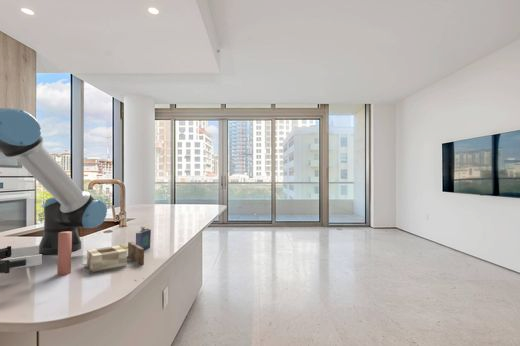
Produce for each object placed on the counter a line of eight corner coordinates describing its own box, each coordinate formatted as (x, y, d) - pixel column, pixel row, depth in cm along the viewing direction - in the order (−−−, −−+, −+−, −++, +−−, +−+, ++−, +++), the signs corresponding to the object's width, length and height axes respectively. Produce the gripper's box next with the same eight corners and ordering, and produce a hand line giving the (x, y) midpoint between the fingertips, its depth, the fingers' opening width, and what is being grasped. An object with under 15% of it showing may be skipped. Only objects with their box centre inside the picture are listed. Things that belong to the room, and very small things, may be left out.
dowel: (56, 276, 85) (57, 232, 85) (69, 273, 87) (71, 230, 88) (57, 279, 82) (59, 234, 83) (71, 276, 85) (72, 232, 85)
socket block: (86, 264, 93) (87, 250, 94) (118, 258, 100) (118, 245, 100) (92, 271, 86) (93, 256, 86) (126, 265, 93) (126, 250, 93)
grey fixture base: (82, 267, 94) (82, 248, 94) (131, 258, 105) (131, 241, 105) (90, 278, 84) (91, 257, 84) (143, 267, 95) (144, 248, 95)
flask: (139, 254, 110) (140, 228, 110) (132, 254, 110) (133, 228, 111) (151, 249, 119) (152, 225, 119) (145, 248, 120) (146, 224, 120)
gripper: (-60, 271, 76) (37, 257, 90) (-85, 302, 57) (42, 278, 71) (-59, 245, 76) (38, 235, 90) (-84, 266, 57) (43, 249, 72)
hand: (40, 254), depth 81 cm, fingers open, 13 cm apart
